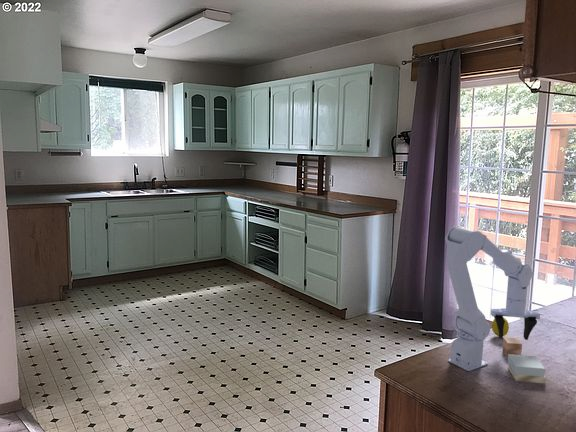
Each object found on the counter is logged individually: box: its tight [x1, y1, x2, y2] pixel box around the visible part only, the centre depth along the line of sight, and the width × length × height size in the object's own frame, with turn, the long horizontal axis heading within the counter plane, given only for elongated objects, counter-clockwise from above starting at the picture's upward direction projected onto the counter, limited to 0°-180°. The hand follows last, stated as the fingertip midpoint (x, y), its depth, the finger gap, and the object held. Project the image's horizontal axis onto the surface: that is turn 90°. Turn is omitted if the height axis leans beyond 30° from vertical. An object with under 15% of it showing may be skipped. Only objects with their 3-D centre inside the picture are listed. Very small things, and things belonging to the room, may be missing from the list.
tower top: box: [507, 354, 546, 377], centre depth 140 cm, size 8×8×2 cm
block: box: [502, 336, 523, 358], centre depth 154 cm, size 4×4×5 cm
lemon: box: [491, 316, 510, 338], centre depth 168 cm, size 6×6×8 cm
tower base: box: [507, 362, 547, 384], centre depth 140 cm, size 8×8×2 cm
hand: (513, 337), depth 153 cm, fingers open, 7 cm apart
